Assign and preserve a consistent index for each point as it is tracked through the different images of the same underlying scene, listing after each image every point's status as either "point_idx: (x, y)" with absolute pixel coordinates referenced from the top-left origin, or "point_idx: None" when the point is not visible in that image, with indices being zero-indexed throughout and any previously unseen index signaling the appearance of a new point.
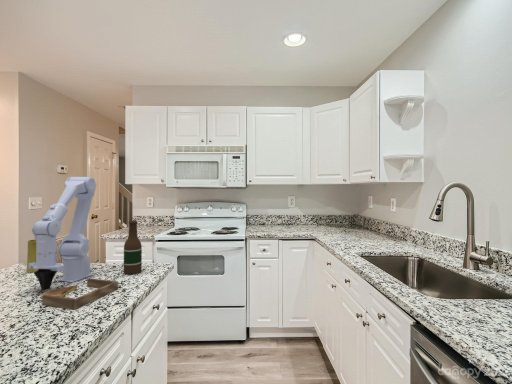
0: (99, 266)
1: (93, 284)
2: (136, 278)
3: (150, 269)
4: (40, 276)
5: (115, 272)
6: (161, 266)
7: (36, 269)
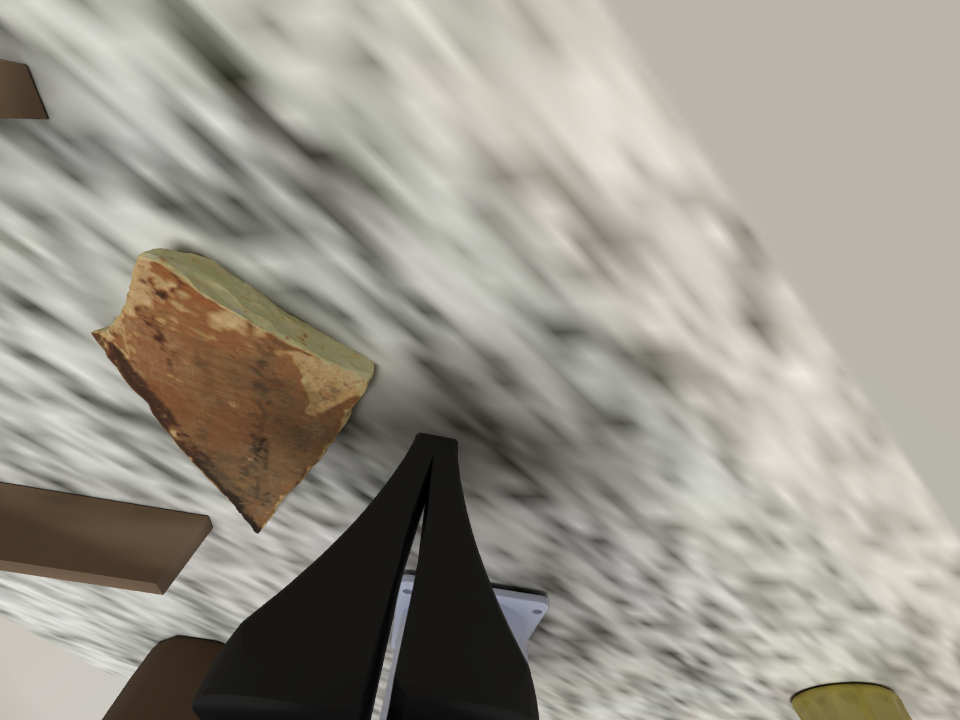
0: None
1: (117, 529)
2: (78, 604)
3: None
4: (385, 598)
5: None
6: None
7: (831, 711)
